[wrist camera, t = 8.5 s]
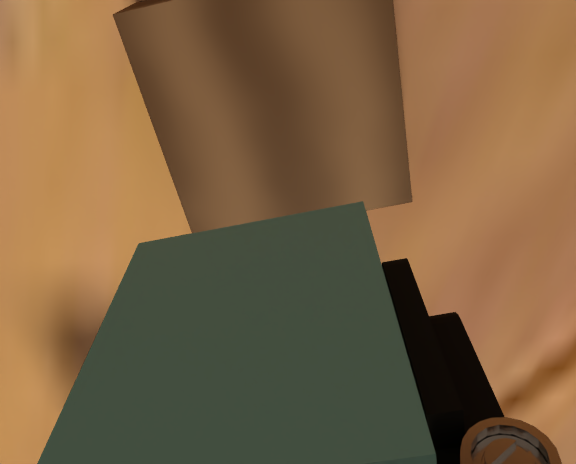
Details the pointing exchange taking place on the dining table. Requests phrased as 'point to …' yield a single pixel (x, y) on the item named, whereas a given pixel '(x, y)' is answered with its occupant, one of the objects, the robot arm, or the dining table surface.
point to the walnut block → (272, 104)
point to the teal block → (249, 354)
